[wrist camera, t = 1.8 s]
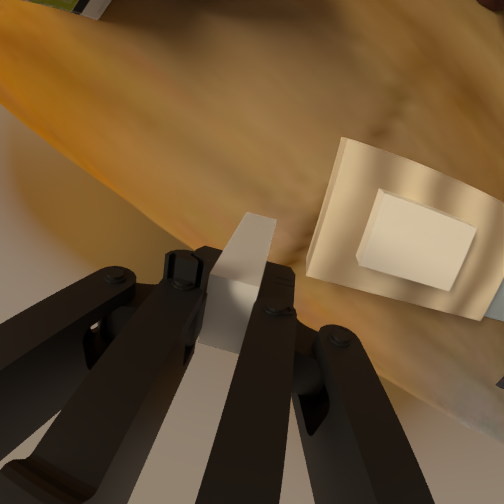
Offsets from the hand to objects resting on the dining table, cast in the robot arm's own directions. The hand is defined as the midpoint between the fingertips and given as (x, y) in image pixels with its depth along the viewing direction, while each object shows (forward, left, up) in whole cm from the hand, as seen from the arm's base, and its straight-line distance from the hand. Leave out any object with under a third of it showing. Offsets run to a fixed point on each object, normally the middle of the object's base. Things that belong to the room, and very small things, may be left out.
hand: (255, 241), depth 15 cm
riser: (-14, 0, -14) cm, 20 cm away
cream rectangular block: (-12, 0, -10) cm, 16 cm away
